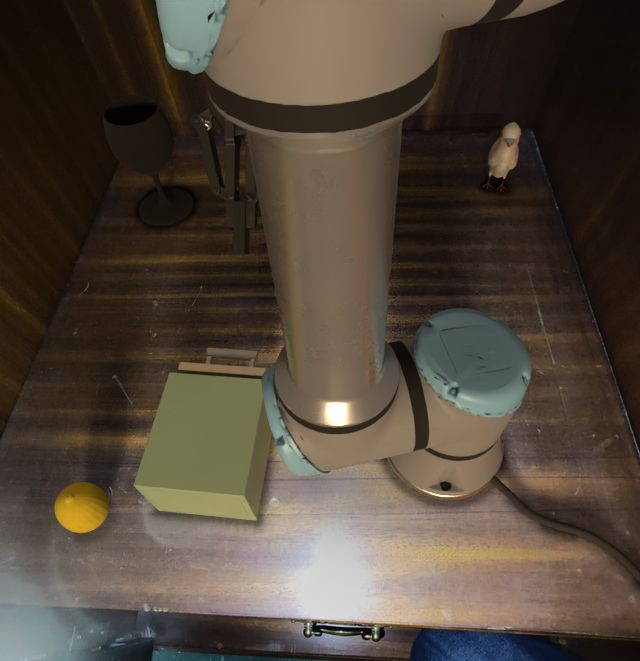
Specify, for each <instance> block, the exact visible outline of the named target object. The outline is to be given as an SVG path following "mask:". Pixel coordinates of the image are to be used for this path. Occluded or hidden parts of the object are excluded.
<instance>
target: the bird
mask: <svg viewBox="0 0 640 661" xmlns="http://www.w3.org/2000/svg"><path fill="white" fill-rule="evenodd" d="M521 135H522V129H521V127H520V126H519V125H518V123H516V122H515V121H512V122H509V123H507V124H506V125H505V126H504V127H503V128H502V130H501V134H500V137H498V139H497V140H496V141H495V142H494V143H493V145H492V146H491V148H490V151H489V152H488V153H489V154H488V156H487V157H488V158H487V165H488V166H489V171H488V180H487V182H485V183H484V184H483V185H482V187H481V188H484V187H485V186H486V190H488V189H489V187H491V189H492V190H493V189H494V187H493V185H491V182H490V180H491V177H492V176H493V177H495V178H497V179H500V178H502V181H501V184H499V185H498V186H497V187H496V189H495V190H498V189H500V192H502V190H503V189H504V190H505V191H506V192H507V191H508V190H507V188H506V187H505V186H504V182H505V179H506V178H507V176H508V173H509V172H510V170H513V169H515V168H516V166H517V164H518V161H519V160H518V159H519V142H520V140H521Z"/></svg>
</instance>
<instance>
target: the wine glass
mask: <svg viewBox="0 0 640 661" xmlns="http://www.w3.org/2000/svg"><path fill="white" fill-rule="evenodd" d="M102 118H103V120H102V121H103V127H104V133H105V138H106V140H107V144H108V145H109V148H110V150H111V152H112V153H113V155H114V157H115V159H116V160H118V161H119V163H120V164H122V165H123V166H124V167H125V168H127V169H128V170H130V171H132V172H134V173H137V174H140V175H145V176H150V177H151V179H152V180H153V183H154V185H155V188H156V191H153V192H151V193H150V194H148V195H146V197H145V198H143V200H142V201H141V202H140V204H139V207H138V214H139V217H140V218H141V220H142V221H143V222H144V223H146V224H148V225H151V226H156V227H167V226H172V225H174V224H178V223H179V222H181V221H183V220H184V219H186V218H187V217H188V216H189V215H190V214H191V213H192V211H193V210H194V204H195V203H194V202H195V201H194V198H193V196H192V195H191V193H189V192H188V191H187V190H184V189H183V188H182V189H181V188H177V187H167V188H163V186H162V183H161V180H160V175H159V173H160V172H161V171H163V169H165V168H166V166H167V165H168V164H169V162H170V161H171V159H172V156H173V153H174V147H175V145H174V144H175V140H174V133H173V129H172V126H171V124H170V122H169V119H168V117H167V115H166V113H165V112H164V110H163V109H162V107H161V106H160V104H159V103H158V101H157V100H156V99H155V98H153V97H151V96H149V95H144V94H131V95H126V96H123V97H119V98H116V100H113V101H112V102H110V103H109V104H108V105H107V106H106V107H105V108H104V110H103V113H102Z"/></svg>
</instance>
